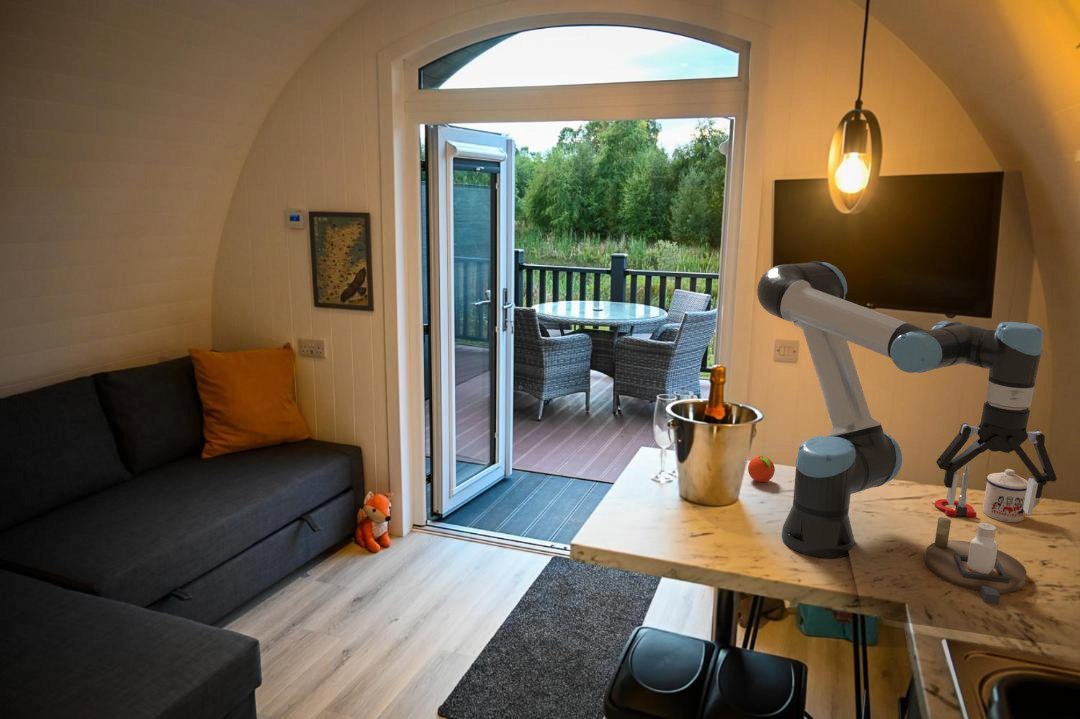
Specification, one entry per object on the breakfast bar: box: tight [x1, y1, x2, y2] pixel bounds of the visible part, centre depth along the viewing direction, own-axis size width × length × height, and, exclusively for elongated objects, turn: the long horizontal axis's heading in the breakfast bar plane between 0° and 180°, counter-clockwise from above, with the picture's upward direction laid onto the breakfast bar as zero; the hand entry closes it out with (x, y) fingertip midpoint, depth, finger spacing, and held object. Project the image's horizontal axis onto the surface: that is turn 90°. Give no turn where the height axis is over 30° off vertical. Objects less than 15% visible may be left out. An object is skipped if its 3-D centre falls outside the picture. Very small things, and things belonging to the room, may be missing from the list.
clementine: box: [747, 455, 776, 483], centre depth 202 cm, size 8×7×7 cm
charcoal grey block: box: [979, 586, 1001, 605], centre depth 145 cm, size 2×3×3 cm
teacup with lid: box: [982, 468, 1042, 523], centre depth 182 cm, size 12×9×12 cm
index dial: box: [924, 516, 1027, 594], centre depth 155 cm, size 18×18×8 cm
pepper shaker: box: [967, 522, 999, 574], centre depth 150 cm, size 4×4×10 cm
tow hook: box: [934, 464, 977, 518], centre depth 185 cm, size 8×13×9 cm
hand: (988, 507), depth 148 cm, fingers open, 13 cm apart
